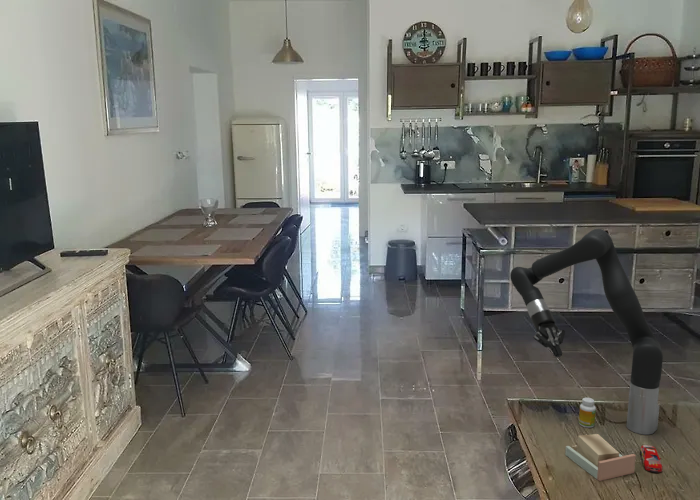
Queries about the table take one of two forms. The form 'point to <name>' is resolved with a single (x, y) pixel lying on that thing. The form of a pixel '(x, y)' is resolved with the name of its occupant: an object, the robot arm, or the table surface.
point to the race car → (650, 459)
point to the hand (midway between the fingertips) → (559, 356)
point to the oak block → (595, 448)
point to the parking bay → (604, 465)
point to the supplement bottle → (587, 413)
